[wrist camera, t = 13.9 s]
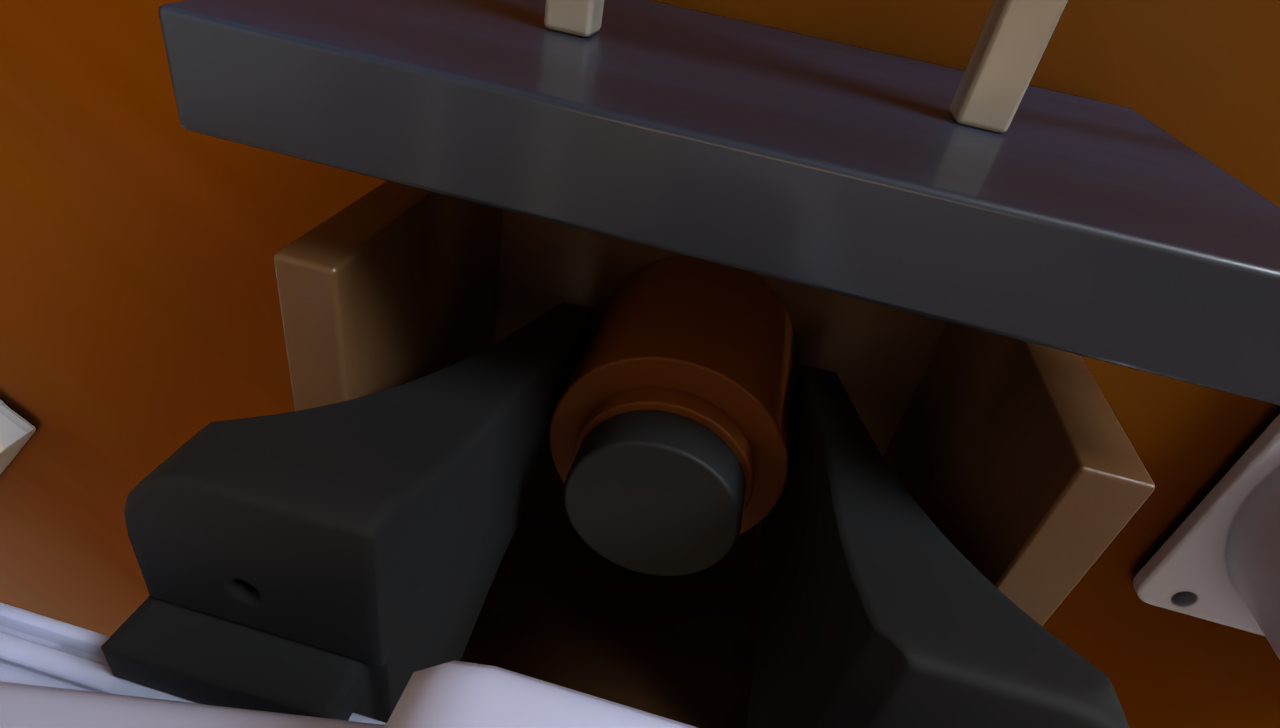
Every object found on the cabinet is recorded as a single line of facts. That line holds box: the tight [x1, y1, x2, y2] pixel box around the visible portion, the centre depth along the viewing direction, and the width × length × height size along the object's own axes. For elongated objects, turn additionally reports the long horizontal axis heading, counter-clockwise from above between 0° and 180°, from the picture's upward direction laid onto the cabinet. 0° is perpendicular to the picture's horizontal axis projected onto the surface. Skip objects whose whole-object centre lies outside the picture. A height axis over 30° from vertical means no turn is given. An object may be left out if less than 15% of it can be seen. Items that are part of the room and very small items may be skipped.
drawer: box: [158, 0, 1280, 728], centre depth 11 cm, size 17×11×7 cm, turn 170°
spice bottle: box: [549, 256, 795, 576], centre depth 12 cm, size 4×4×5 cm
